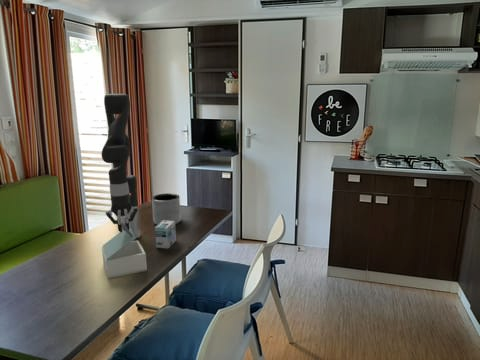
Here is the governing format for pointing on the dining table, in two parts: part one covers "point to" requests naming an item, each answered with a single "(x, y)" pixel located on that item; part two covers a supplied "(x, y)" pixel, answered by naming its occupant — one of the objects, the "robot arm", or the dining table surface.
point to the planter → (166, 208)
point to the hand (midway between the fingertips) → (123, 231)
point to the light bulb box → (165, 234)
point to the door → (118, 241)
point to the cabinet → (126, 261)
